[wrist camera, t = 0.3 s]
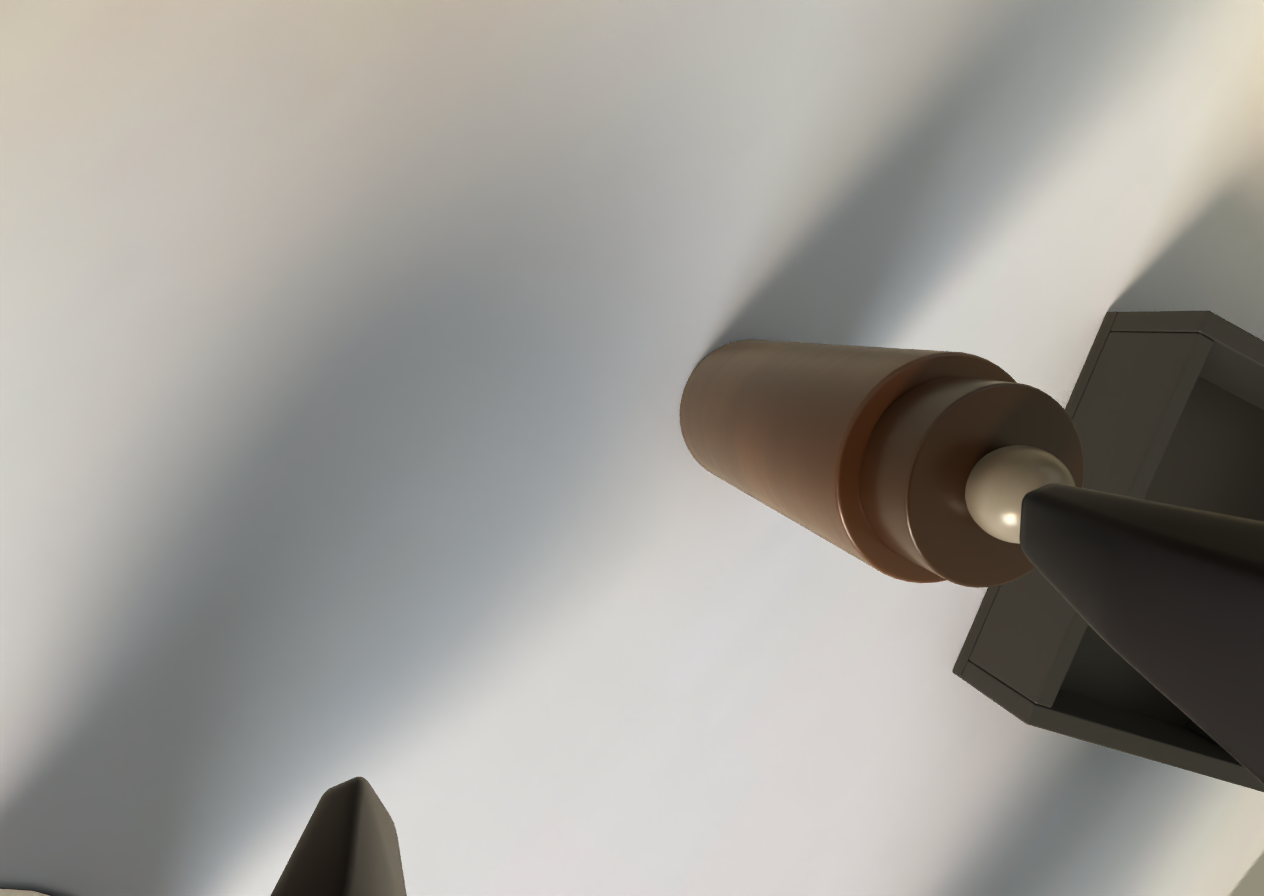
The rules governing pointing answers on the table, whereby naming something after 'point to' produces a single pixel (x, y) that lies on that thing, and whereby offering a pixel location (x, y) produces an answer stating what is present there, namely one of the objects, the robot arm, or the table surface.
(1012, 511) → the pepper mill
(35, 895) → the white vase
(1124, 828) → the table surface
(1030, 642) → the dark grey tray
